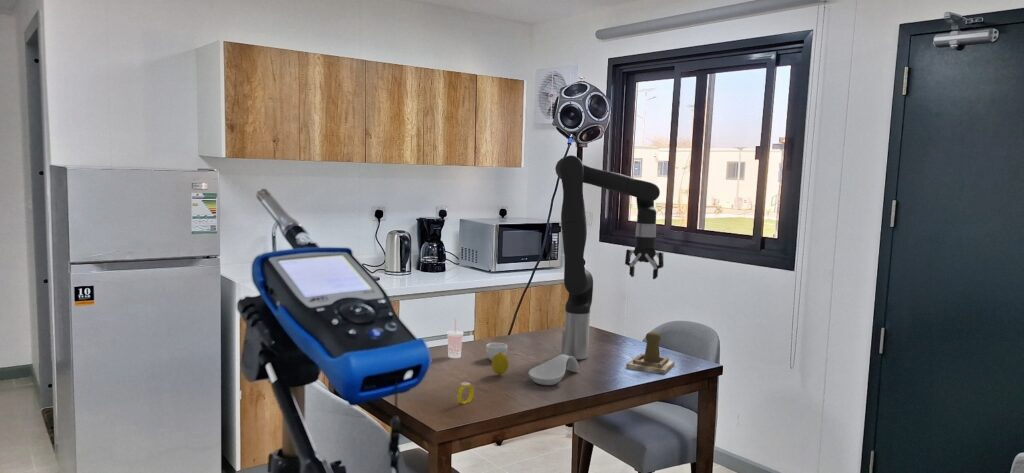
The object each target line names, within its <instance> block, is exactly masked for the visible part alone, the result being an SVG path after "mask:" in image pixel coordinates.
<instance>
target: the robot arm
mask: <svg viewBox="0 0 1024 473" xmlns="http://www.w3.org/2000/svg"><path fill="white" fill-rule="evenodd" d="M555 164H556V165H555V174H556V175H557V177H558V178H559V179H560V180H561V184H562V193H563V194H562V195H563V196H562V205H561V211H560V212H561V213H560V222H561V223H560V224H561V234H562V246H563V247H562V248H563V255H564V257H563V258H564V268H563V271H564V272H563V274H564V275H563V284H564V288H565V290H566V291H567V292H568V297H567V301H566V303H565V308H564V309H565V310H564V311H565V312H564V329H563V331H562V332H561V333H562V334H561V353H560V355H562V354H564V355H567V356H573V357H574V358H575V359H576V360H585V359H588V357H589V340H590V338H589V336H590V320H591V319H590V318H591V317H590V315H591V306H592V303H593V295H594V294H593V293H594V292H593V291H594V278H593V275H592V273H591V272H590V271H589V270H588V269H586V268H585V263H584V260H585V259H584V254H585V248H586V242H587V234H588V232H587V229H588V228H587V217H586V208H585V200H584V194H583V193H584V184H588V185H591V186H592V185H593V186H595V187H598V188H601V189H604V190H606V191H607V190H608V191H611V192H613V193H617V194H621V195H623V196H624V195H625V196H631V197H633V198H636V206H637V207H636V208H637V214H636V215H637V218H636V227H635V238H634V240H635V241H634V249H630V248H629V249H628V248H627V249H626V251H625V253H626V254H625V260H624V261H625V262H624V265H626V266H628V267H629V272H628V273H629V276H630V277H631V278H633V277H635V266H636V264H637V263H642V262H644V263H646V264H647V263H649V264H650V266H652V267H653V271H652V279H653V280H656V279H657V278H658V276H659V269H662V268H664V252H663V251H659V252H658V251H656V240H657V239H656V238H657V223H656V222H657V210H656V208H655V201H657V199H659V197H660V195H661V194H660V193H661V190H660V188H659V186H658V185H657V184H656V183H653V182H651V181H648V180H647V181H645V180H641V179H638V178H634V177H631V176H628V175H625V174H622V173H619V172H613V171H609V170H603V169H598V168H594V167H592V166H588V165H585V164H583V162H582V160H581V159H580V158H579V157H577V156H575V155H566V156H564V157H562V158H560V159H559V160H558V161H557V163H555ZM633 254H634V259H633V260H632V261H631V256H633ZM655 257H657V258H658V263H657V261H656V260H655Z"/></svg>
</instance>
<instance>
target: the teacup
mask: <svg viewBox="0 0 1024 473" xmlns="http://www.w3.org/2000/svg"><path fill="white" fill-rule="evenodd" d="M485 350H486V356H487V358H488V359H489V360H490V361H492V360H493V357H494V356H495V355H496V354H498V353H499V352H502V353H503V354H505V355H506V356H507V354H508V345H507V343H504V342H489V343H487V344H486V345H485Z"/></svg>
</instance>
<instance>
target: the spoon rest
mask: <svg viewBox="0 0 1024 473" xmlns="http://www.w3.org/2000/svg"><path fill="white" fill-rule="evenodd" d="M566 368H567V369H566ZM566 370H567V371H569V372H573V373H580V366H579V362H578V359H575V358H574V357H573V356H567V355H564V354H562V355H561V354H559V355H557V356H555V357H554V358H553V357H552V358H551V359H549V360H547V361H544V362H543V363H540V364H539V365H537V366H534V367H532V368H530V369H529V370H528V372H527V373H528V376H529V378H530V379H531V380H532V381H533V382H534V383H536V384H538V385H541V386H554V385H556V384H557V383H559V382H560V381H561V380H562V379H563V378H564V376H565V373H566Z"/></svg>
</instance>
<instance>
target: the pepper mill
mask: <svg viewBox="0 0 1024 473" xmlns="http://www.w3.org/2000/svg"><path fill="white" fill-rule="evenodd" d="M645 341H646V346H645V351H644V354H645V356H644V361H647V362H653V363H660V357H661V355H660V341H661V334H660V333H659V332H653V331H652V332H651V331H650V332H647V333H646V335H645Z"/></svg>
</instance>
